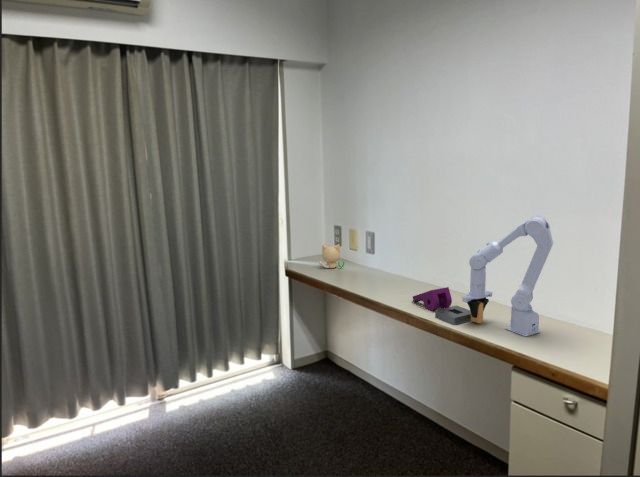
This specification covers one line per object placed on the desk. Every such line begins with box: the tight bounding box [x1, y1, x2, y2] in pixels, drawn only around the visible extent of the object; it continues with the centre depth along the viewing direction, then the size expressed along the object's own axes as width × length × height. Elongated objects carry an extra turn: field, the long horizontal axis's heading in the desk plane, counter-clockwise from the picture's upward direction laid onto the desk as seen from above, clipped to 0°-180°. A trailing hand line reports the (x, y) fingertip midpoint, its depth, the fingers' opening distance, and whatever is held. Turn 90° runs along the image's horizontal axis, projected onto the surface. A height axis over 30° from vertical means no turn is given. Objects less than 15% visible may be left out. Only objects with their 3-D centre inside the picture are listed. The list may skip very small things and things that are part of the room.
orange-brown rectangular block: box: [470, 301, 484, 324], centre depth 188 cm, size 4×2×8 cm, turn 29°
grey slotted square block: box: [434, 304, 472, 326], centre depth 194 cm, size 11×12×3 cm
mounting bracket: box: [412, 286, 453, 312], centre depth 211 cm, size 9×8×18 cm
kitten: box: [318, 243, 345, 269], centre depth 285 cm, size 15×10×15 cm
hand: (476, 316), depth 188 cm, fingers closed on orange-brown rectangular block, 2 cm apart
